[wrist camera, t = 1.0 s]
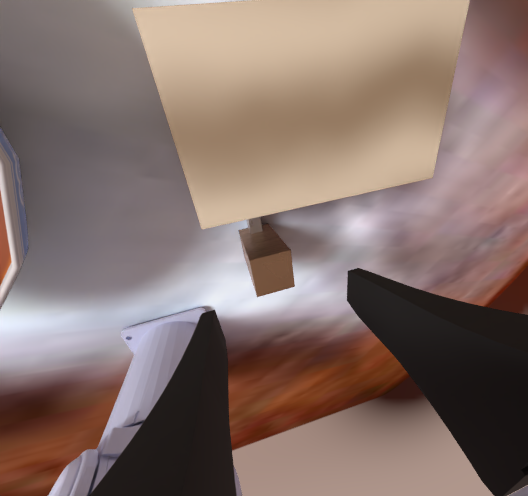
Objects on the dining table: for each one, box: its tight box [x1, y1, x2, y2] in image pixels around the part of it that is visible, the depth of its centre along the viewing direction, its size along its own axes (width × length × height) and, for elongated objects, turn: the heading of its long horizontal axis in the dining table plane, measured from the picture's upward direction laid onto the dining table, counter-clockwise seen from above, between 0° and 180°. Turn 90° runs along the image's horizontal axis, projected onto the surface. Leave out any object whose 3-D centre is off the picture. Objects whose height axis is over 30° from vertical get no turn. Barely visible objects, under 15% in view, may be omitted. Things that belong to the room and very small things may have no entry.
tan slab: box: [132, 0, 470, 229], centre depth 13 cm, size 8×15×7 cm, turn 99°
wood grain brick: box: [239, 217, 295, 297], centre depth 14 cm, size 12×3×6 cm, turn 9°
